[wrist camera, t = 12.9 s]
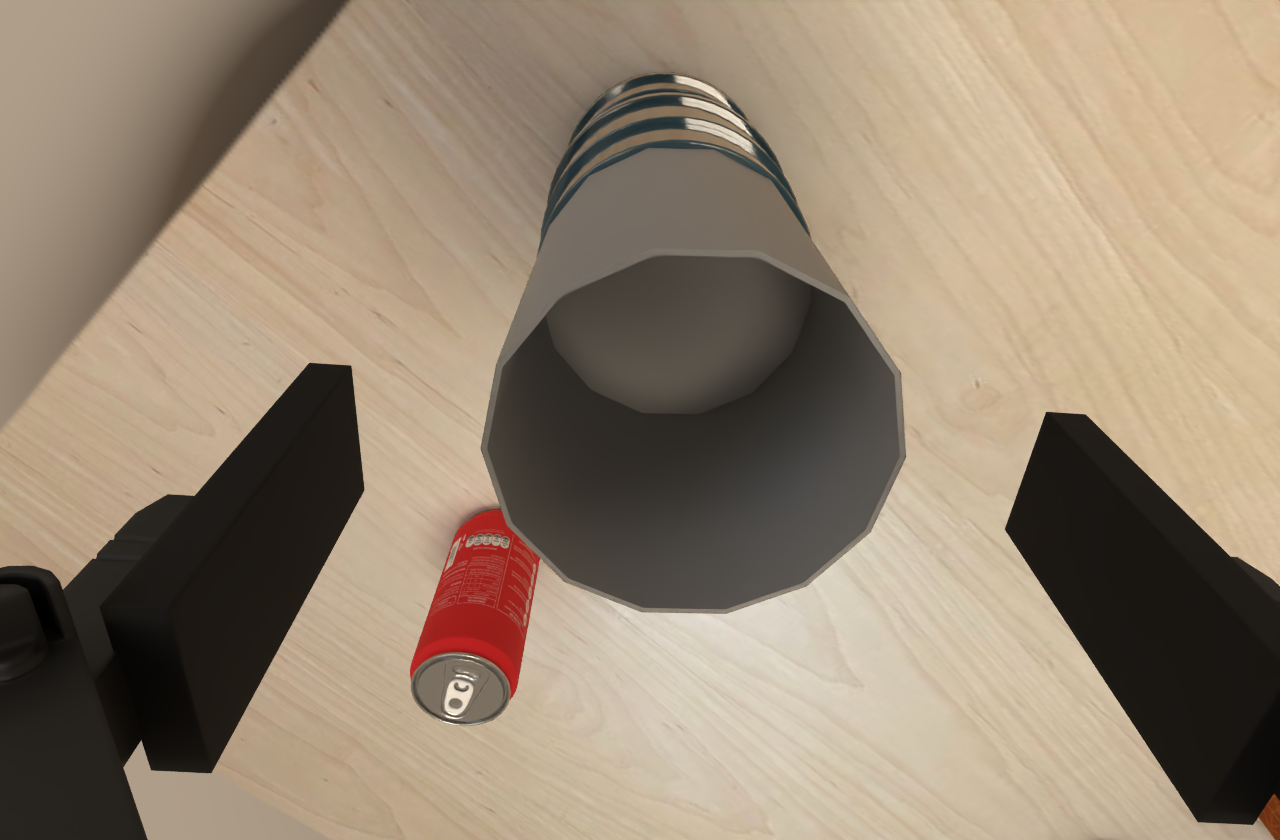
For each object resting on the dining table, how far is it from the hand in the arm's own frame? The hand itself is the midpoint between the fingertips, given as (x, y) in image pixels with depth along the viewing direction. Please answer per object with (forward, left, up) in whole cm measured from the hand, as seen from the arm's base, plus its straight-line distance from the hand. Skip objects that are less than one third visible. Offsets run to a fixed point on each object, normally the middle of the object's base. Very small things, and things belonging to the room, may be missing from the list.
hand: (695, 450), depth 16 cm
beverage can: (+22, -8, -27) cm, 36 cm away
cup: (0, 0, -11) cm, 11 cm away
